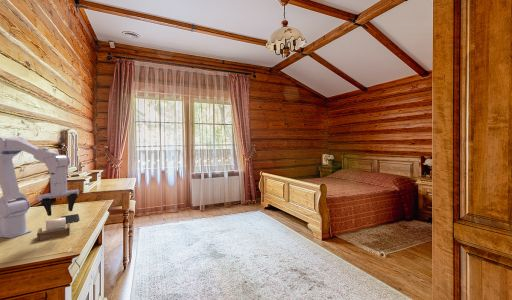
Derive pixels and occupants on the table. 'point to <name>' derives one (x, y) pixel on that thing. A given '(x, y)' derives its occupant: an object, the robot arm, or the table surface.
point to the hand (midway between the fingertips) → (60, 213)
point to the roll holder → (53, 233)
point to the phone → (71, 218)
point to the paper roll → (55, 224)
